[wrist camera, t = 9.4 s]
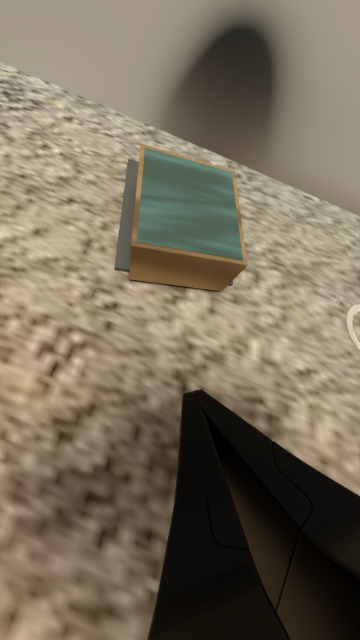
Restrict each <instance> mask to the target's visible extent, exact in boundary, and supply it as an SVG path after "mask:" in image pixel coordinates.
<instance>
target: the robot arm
mask: <svg viewBox="0 0 360 640" xmlns="http://www.w3.org/2000/svg"><path fill="white" fill-rule="evenodd" d="M177 469H178V470H177V479H176V490H175V500H174V507H173V513H172V519H171V525H170V531H169V536H168V541H167V547H166V552H165V557H164V562H163V568H162V573H161V578H160V584H159V589H158V594H157V599H156V604H155V609H154V613H153V618H152V622H151V627H150V631H149V635H148V639H147V640H360V496H359V495H357V494H355V493H354V492H352V491H350V490H349V489H347V488H346V487H344V486H342V485H341V484H339V483H337V482H336V481H334V480H332V479H331V478H329V477H327V476H326V475H324V474H322V473H321V472H319V471H318V470H316V469H314V468H313V467H311V466H310V465H308V464H307V463H305V462H303V461H302V460H300V459H299V458H297V457H296V456H294V455H293V454H291V453H290V452H288V451H287V450H286V449H284V448H283V447H281V446H280V445H279V444H277V443H276V442H274V441H272V440H271V439H270V438H269V437H267V436H266V435H264V434H263V433H262V432H260V431H259V430H258V429H256V428H255V427H253V426H252V425H251V424H249V423H248V422H246V421H245V420H244V419H242V418H241V417H239V416H238V415H237V414H235V413H234V412H232V411H231V410H230V409H228V408H227V407H226V406H224V405H223V404H221V403H220V402H219V401H217V400H216V399H214V398H213V397H212V396H210V395H209V394H207V393H206V392H205V391H203V390H201V389H200V390H195V391H193V392H186V393H183V396H182V410H181V424H180V438H179V453H178V467H177Z"/></svg>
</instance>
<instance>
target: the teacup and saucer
mask: <svg viewBox="0 0 360 640" xmlns="http://www.w3.org/2000/svg"><path fill="white" fill-rule="evenodd" d="M357 312H360V305H354V306H352V307H351V308H350V309H349V310H348V312H347V316H346V325H347V329H348V332H349V335H350V337H351V339H352V341H353V342H354V344H355V345H356V347H357V348H358V349H359V350H360V342H359V341H358V339H357V338H356V336H355V333H354V331H353V327H352V319H353V316H354V315H355V314H356V313H357Z"/></svg>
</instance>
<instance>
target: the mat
mask: <svg viewBox="0 0 360 640" xmlns="http://www.w3.org/2000/svg"><path fill="white" fill-rule="evenodd" d="M138 168H139V162H137V161H134V160H130V159H128V166H127V174H126V182H125V190H124V198H123V206H122V214H121V222H120V230H119V238H118V246H117V253H116V261H115V270H121V271H128V272H130V254H131V239H132V229H133V219H134V209H135V199H136V189H137V178H138ZM229 285H230V286H232V285H233V280H232V281H231V283H230V284H229Z"/></svg>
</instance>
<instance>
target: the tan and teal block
mask: <svg viewBox="0 0 360 640" xmlns="http://www.w3.org/2000/svg"><path fill="white" fill-rule="evenodd" d="M246 266H247V258H246V251H245V244H244V237H243V229H242V222H241V215H240V207H239V200H238V193H237V186H236V178H235V171H232V170H229V169H225V168H222V167H218V166H215V165H212V164H208V163H205V162H201V161H198V160H195V159H191V158H188V157H184V156H181V155H178V154H174V153H171V152H167V151H164V150H161V149H157V148H154V147H150V146H147V145H143V144H141V148H140V158H139V168H138V178H137V189H136V199H135V209H134V219H133V229H132V239H131V254H130V277H129V279H131V280H139V281H147V282H155V283H162V284H170V285H178V286H186V287H193V288H201V289H209V290H217V291H223V290H224V289H225V288H226V287H227V286H228V285H229V284H230V283H231V281H232V280H233V279H234V278H235V277H236V276H237V275H238V274H239V273H240V272H241V271H242V270H243V269H244V268H245V267H246Z"/></svg>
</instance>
